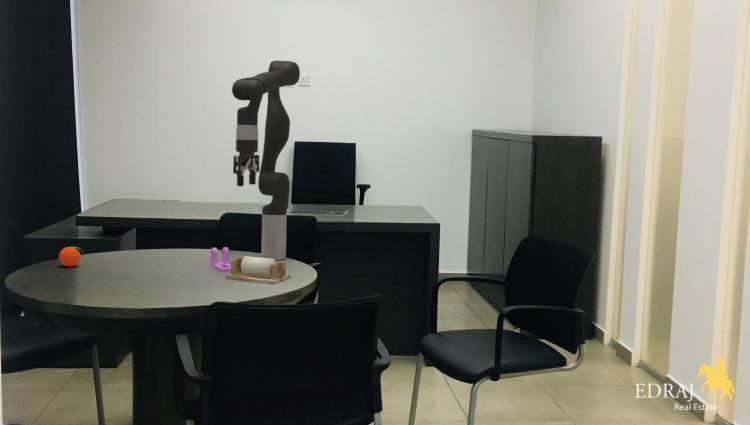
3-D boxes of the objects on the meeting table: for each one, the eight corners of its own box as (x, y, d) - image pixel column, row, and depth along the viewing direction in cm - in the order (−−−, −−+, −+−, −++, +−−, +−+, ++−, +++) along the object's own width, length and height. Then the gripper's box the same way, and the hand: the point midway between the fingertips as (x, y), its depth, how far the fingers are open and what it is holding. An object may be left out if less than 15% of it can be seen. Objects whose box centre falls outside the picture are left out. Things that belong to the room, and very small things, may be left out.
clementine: (84, 264, 269) (84, 244, 268) (83, 268, 262) (83, 247, 261) (59, 264, 266) (59, 244, 265) (58, 268, 260) (58, 248, 259)
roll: (239, 275, 255) (239, 257, 254) (247, 271, 261) (248, 254, 260) (269, 278, 252) (269, 260, 251) (277, 275, 257) (277, 257, 256)
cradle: (243, 272, 265) (243, 255, 264) (290, 277, 259) (290, 260, 258) (225, 278, 254) (225, 260, 253) (274, 284, 248) (274, 266, 247)
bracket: (210, 266, 275) (210, 247, 274) (225, 265, 277) (225, 246, 276) (220, 273, 263) (220, 253, 262) (236, 272, 266) (236, 252, 265)
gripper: (247, 137, 270) (246, 183, 272) (226, 138, 257) (226, 186, 259) (266, 138, 268) (265, 184, 270) (246, 139, 255) (245, 187, 256)
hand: (246, 185), depth 264 cm, fingers open, 8 cm apart
